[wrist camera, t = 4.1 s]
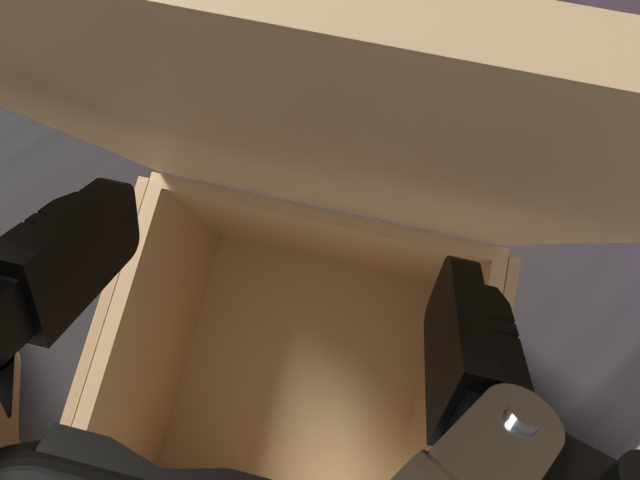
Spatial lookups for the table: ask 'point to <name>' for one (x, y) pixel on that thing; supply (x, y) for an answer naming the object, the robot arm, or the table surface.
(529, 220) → the carton flap
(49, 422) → the table surface
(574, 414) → the table surface
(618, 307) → the table surface
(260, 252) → the carton
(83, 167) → the table surface
